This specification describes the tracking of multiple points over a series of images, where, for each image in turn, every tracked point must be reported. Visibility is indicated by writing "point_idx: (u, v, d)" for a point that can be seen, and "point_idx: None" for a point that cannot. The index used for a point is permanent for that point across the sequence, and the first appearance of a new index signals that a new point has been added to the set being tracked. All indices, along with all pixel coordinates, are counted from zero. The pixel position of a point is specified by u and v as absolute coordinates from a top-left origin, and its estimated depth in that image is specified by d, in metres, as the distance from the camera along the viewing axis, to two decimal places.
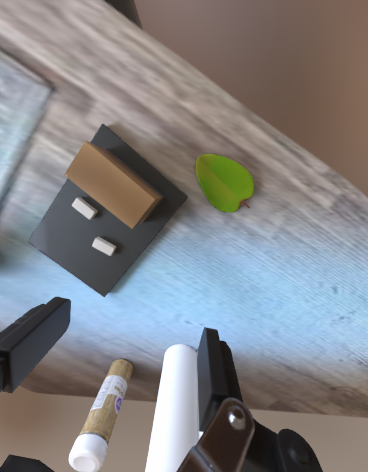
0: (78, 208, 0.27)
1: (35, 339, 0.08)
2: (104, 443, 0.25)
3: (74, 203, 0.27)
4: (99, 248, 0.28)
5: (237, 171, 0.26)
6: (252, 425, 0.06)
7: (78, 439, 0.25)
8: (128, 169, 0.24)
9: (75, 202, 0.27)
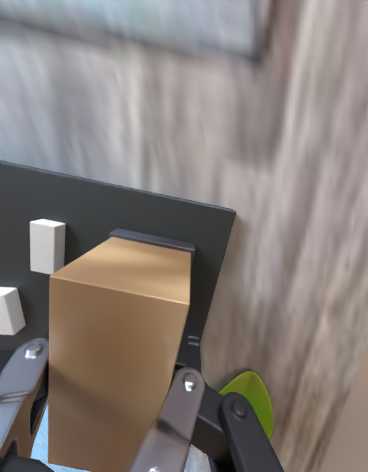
0: (35, 239, 0.11)
1: None
2: None
3: (39, 226, 0.11)
4: None
5: None
6: (202, 388, 0.07)
7: None
8: None
9: (42, 228, 0.11)
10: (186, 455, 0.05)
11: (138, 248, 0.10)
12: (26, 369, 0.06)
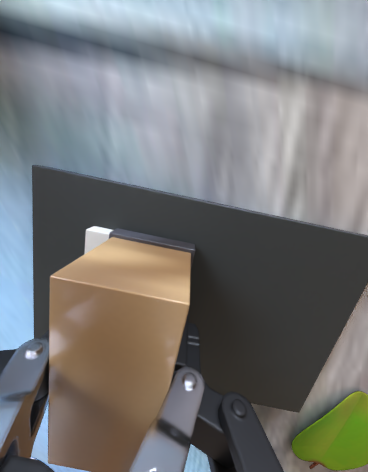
0: (90, 247, 0.11)
1: None
2: None
3: (95, 234, 0.11)
4: None
5: (365, 451, 0.16)
6: (202, 388, 0.07)
7: None
8: None
9: (98, 236, 0.11)
10: (186, 455, 0.05)
11: (138, 248, 0.10)
12: (26, 369, 0.06)
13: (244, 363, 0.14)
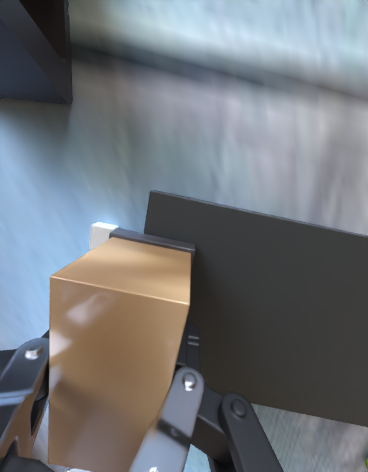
0: None
1: None
2: None
3: None
4: None
5: None
6: (202, 388, 0.07)
7: None
8: None
9: None
10: (186, 455, 0.05)
11: (138, 248, 0.10)
12: (27, 369, 0.06)
13: (336, 383, 0.14)
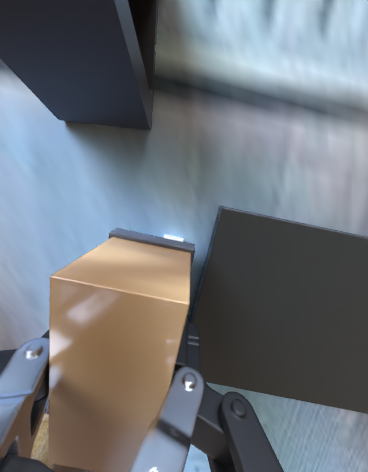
0: None
1: None
2: None
3: None
4: None
5: None
6: (202, 388, 0.07)
7: None
8: None
9: None
10: (186, 455, 0.05)
11: (138, 248, 0.10)
12: (27, 369, 0.06)
13: None
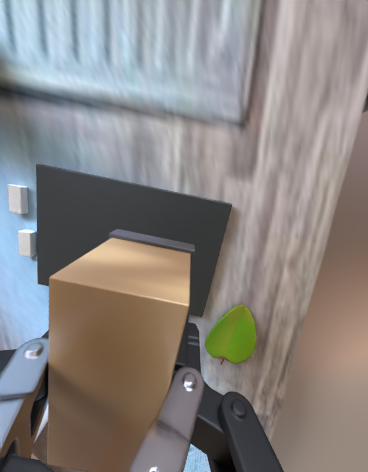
0: None
1: None
2: None
3: None
4: None
5: (248, 344, 0.25)
6: (202, 388, 0.07)
7: None
8: None
9: None
10: (186, 455, 0.05)
11: (138, 249, 0.10)
12: (27, 369, 0.06)
13: None
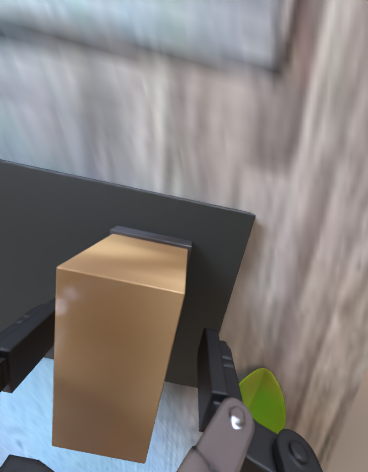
0: None
1: (35, 339, 0.08)
2: None
3: None
4: None
5: (272, 427, 0.16)
6: (252, 425, 0.06)
7: None
8: None
9: None
10: None
11: (137, 244, 0.10)
12: None
13: None
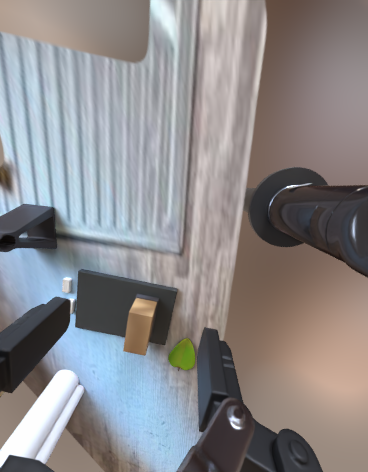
0: None
1: (35, 339, 0.08)
2: None
3: (69, 278, 0.42)
4: None
5: (191, 360, 0.45)
6: (252, 425, 0.06)
7: None
8: (153, 319, 0.40)
9: None
10: None
11: (143, 302, 0.39)
12: None
13: None
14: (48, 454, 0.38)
